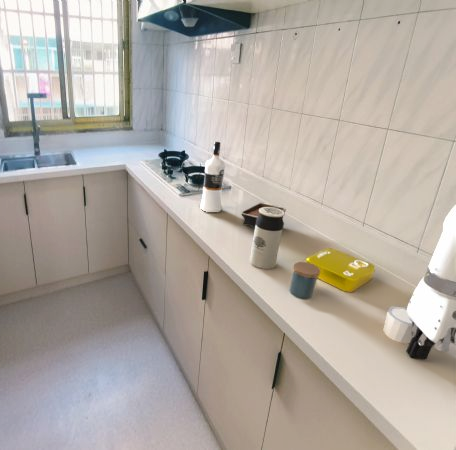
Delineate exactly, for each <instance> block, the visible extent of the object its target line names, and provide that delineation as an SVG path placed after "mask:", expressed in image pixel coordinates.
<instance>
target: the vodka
mask: <svg viewBox="0 0 456 450" xmlns="http://www.w3.org/2000/svg"><path fill="white" fill-rule="evenodd" d="M220 152H221V141H214V142H213V152H212V153H213V154H212V157H211V158H210V159H208V160H206V161H205V164H204V179H203V187H202V196H201V197H202V198H201V201H200V205H199V206H200V210H201V209H202V210H203V211H202V210H201V211H202V212H204V211H206V212H205V213H207V212H217V213H219V212H221V210H222V195H223V194H222V193H223V185H224V176H225V169H226V163H225V162H224V160H222V159H221V158H220Z"/></svg>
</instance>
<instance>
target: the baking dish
mask: <svg viewBox="0 0 456 450" xmlns="http://www.w3.org/2000/svg"><path fill="white" fill-rule="evenodd" d="M262 207H273V208H278V209H280V210H282V211H284V212H285V213H286V210H287V208H286V207H282V206H278V205H274V204H270V203H265V202H258V203H256V204H254V205H253V206H251V207H249V208H247V209H244V210H243V211H241V212H240V215H241V216H242V218H243V222H242V225H243V226H251V227H252V228H254V229H255V226H256V220H257V218H258V217H259V215H260V212H259V209H260V208H262ZM282 219H283V220H284V217H283V218H282Z"/></svg>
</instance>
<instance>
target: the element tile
mask: <svg viewBox="0 0 456 450" xmlns="http://www.w3.org/2000/svg"><path fill="white" fill-rule="evenodd" d="M305 260H306V261H305V262H307V263H311V264H313V265H315V266H317V267H318V268H319V269H320V274H319V276H318V277H317V280H320V281H323V282H325V284H326V283H327V284H329V285H330V286H333V287H335V288H337V289H339V290H341V291H343V292H346V293H353V292H354V291H356V290H358V289H360V287H362V286H363V285H365V284H366V283H368V282H369V281H371V280H372V278H373V275H374V273H375V270H376V266H375V264H373V263H370V262H368V261H365V260H363V259H361V258H358V257H355V256H354V255H350V254H348V253H347V252H343V251H342V250H339V249H336V248H334V247H326V248H324V249H322V250H320V251H317V252H316V253H314V254H311V255H310V256H308V257H307V258H306V259H305Z"/></svg>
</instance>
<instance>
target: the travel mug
mask: <svg viewBox="0 0 456 450" xmlns="http://www.w3.org/2000/svg"><path fill="white" fill-rule="evenodd" d="M259 212H260V215H259V217H258V218H257V220H256V226H255V228H254V232H253V236H252V237H253V238H252V243H251V248H250V249H251V250H250V255H249V263H250V264H251V265H252V266H254V267H256V268H258V269H263V270H270V269H273V268H275V267H276V264H277V260H278V254H279V248H280V245H281V239H282V234H283V230H284V225H285V222H284V216H285V214H286V211H285V212H284V211H282V210H280V209H278V208H273V207H262V208H260V209H259ZM282 218H283V219H282Z"/></svg>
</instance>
